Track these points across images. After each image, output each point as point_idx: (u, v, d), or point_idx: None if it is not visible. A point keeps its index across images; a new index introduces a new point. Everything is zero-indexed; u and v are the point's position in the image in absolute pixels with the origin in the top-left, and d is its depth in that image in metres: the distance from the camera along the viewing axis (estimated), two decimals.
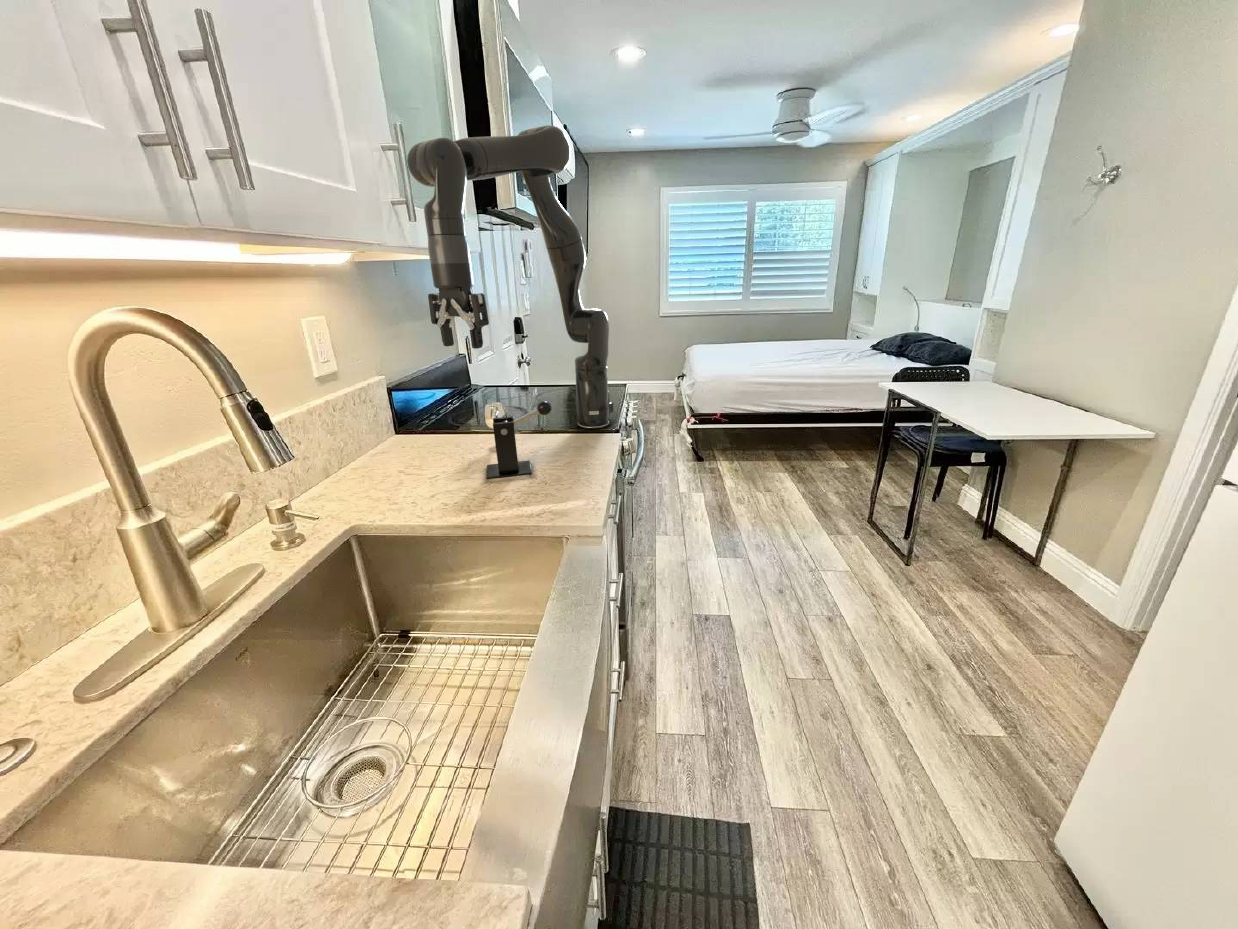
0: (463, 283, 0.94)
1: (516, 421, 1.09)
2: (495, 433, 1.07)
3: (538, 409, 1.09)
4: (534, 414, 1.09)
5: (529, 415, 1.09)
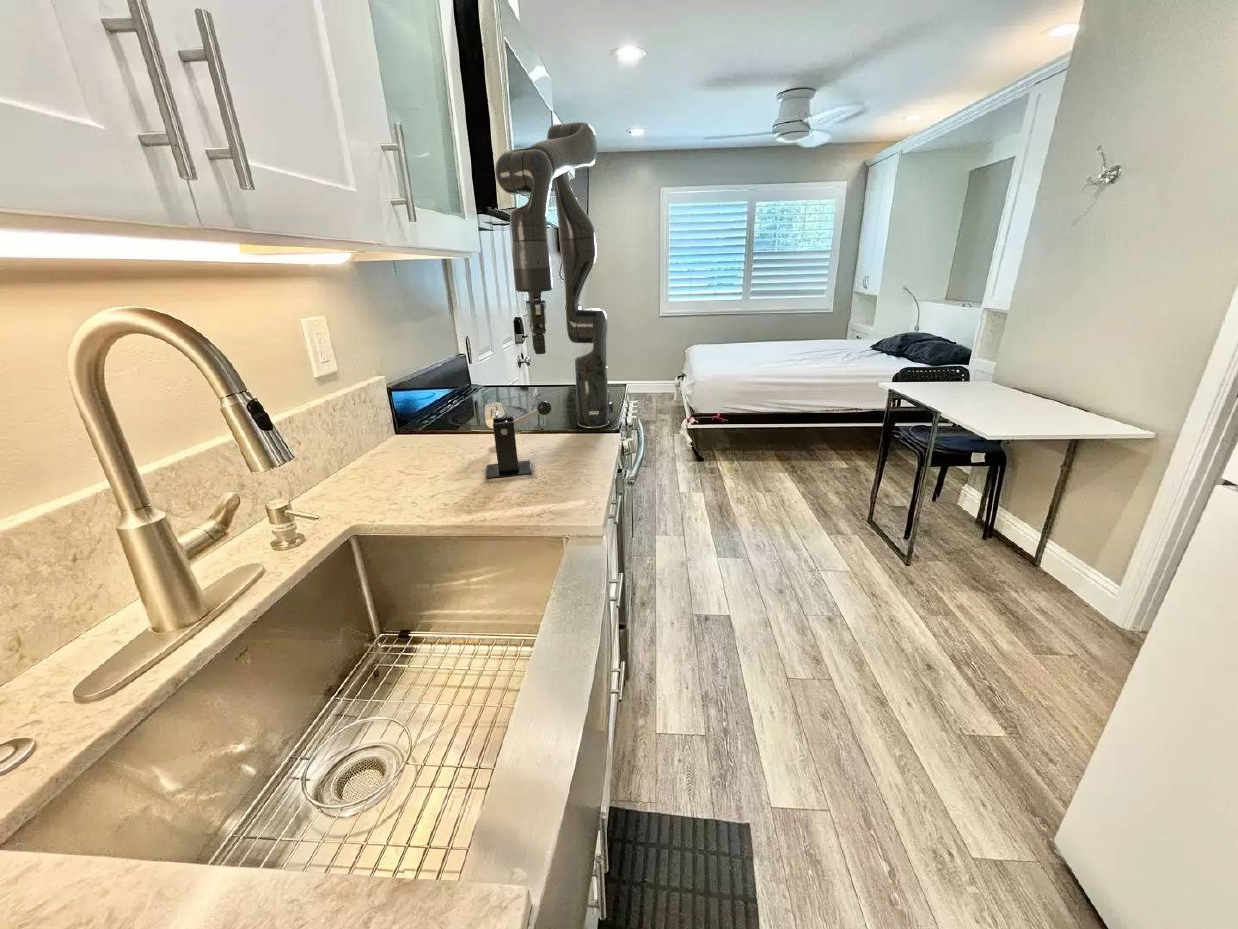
0: (530, 287, 0.97)
1: (516, 421, 1.09)
2: (495, 433, 1.07)
3: (538, 409, 1.09)
4: (534, 414, 1.09)
5: (529, 415, 1.09)
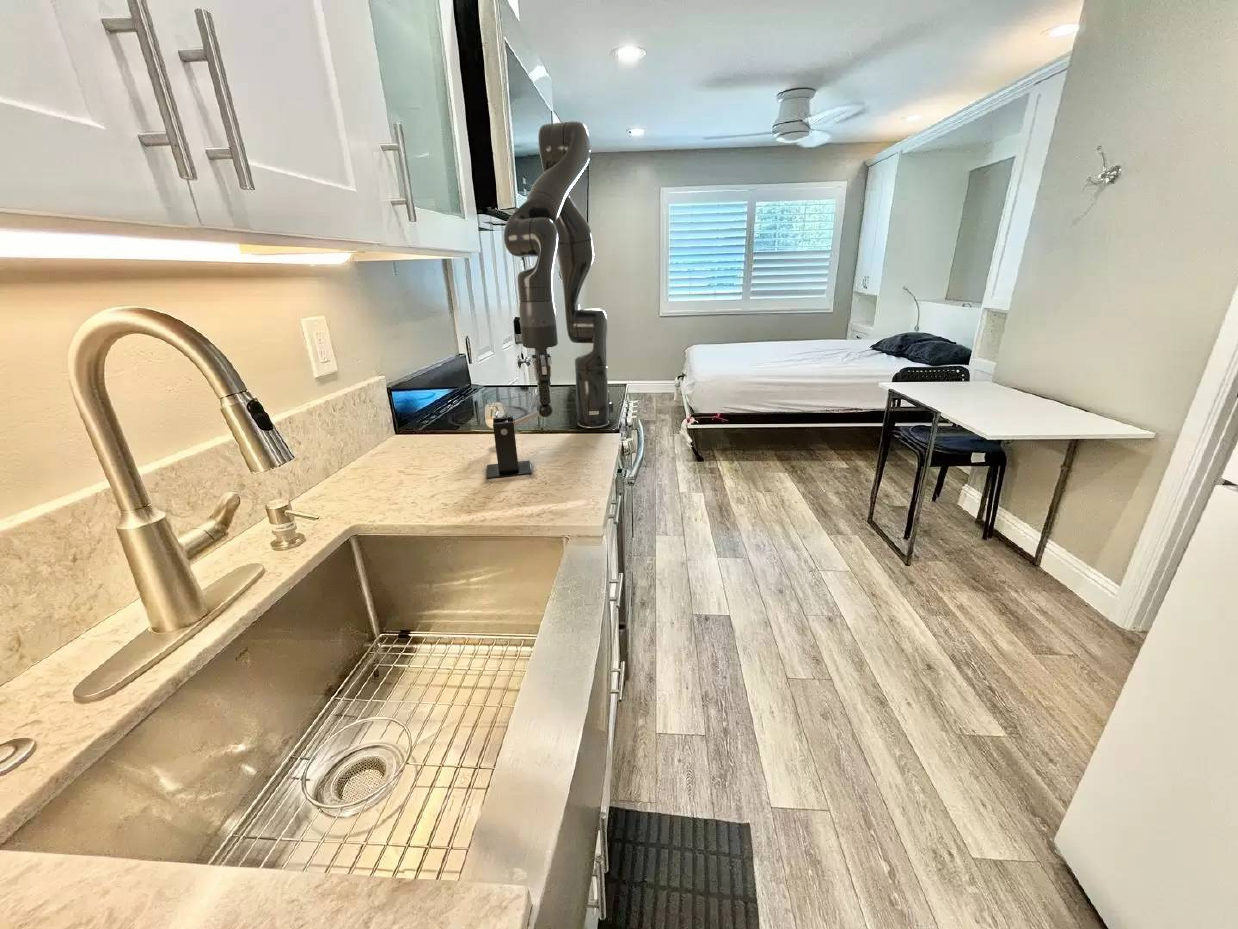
0: (537, 344, 1.01)
1: (516, 422, 1.09)
2: (495, 433, 1.07)
3: (539, 411, 1.09)
4: (535, 416, 1.09)
5: (530, 416, 1.09)
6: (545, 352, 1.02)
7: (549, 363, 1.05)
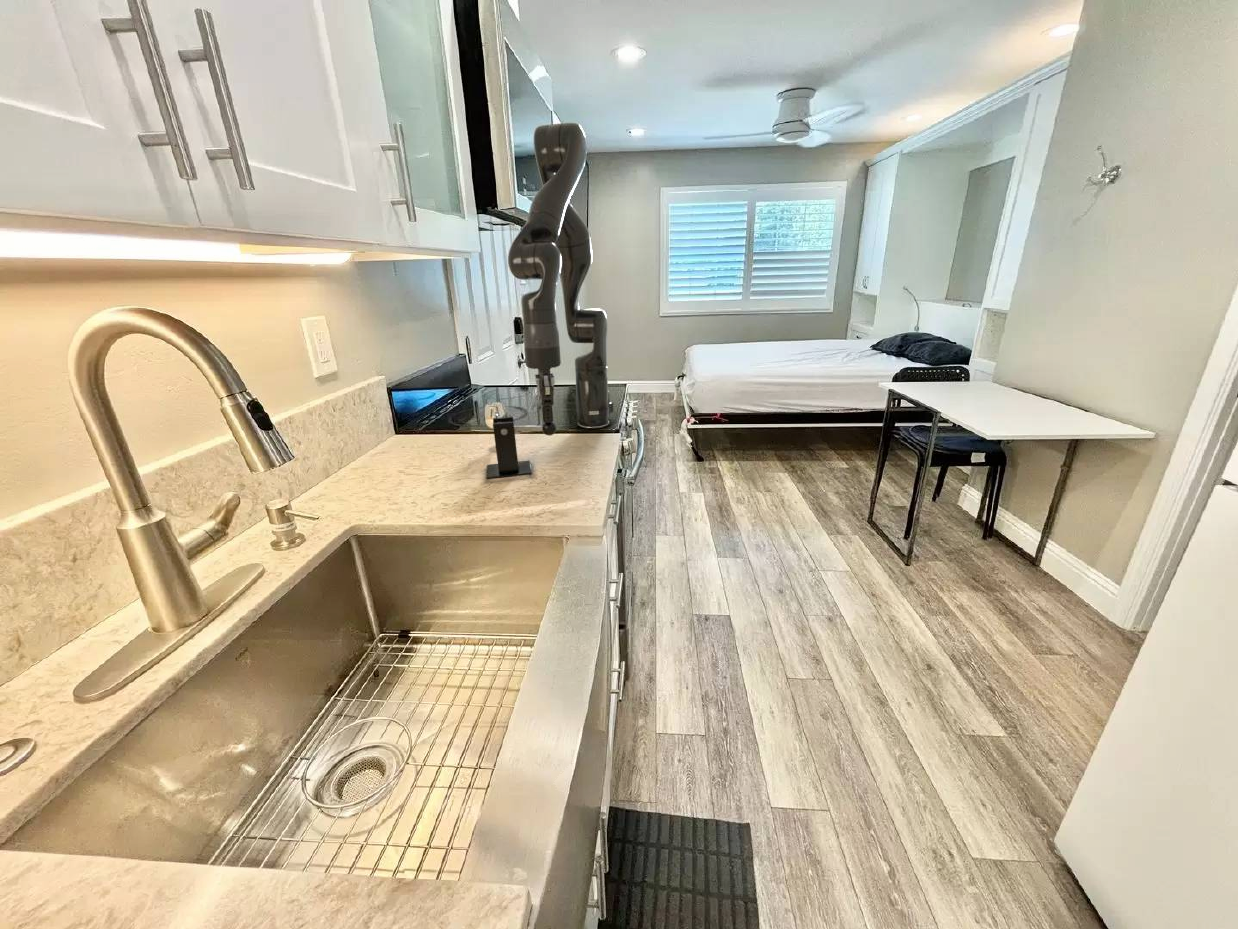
0: (540, 365, 1.03)
1: (518, 427, 1.10)
2: (495, 433, 1.07)
3: (543, 427, 1.11)
4: (537, 429, 1.11)
5: (533, 428, 1.10)
6: (548, 373, 1.03)
7: (552, 383, 1.06)
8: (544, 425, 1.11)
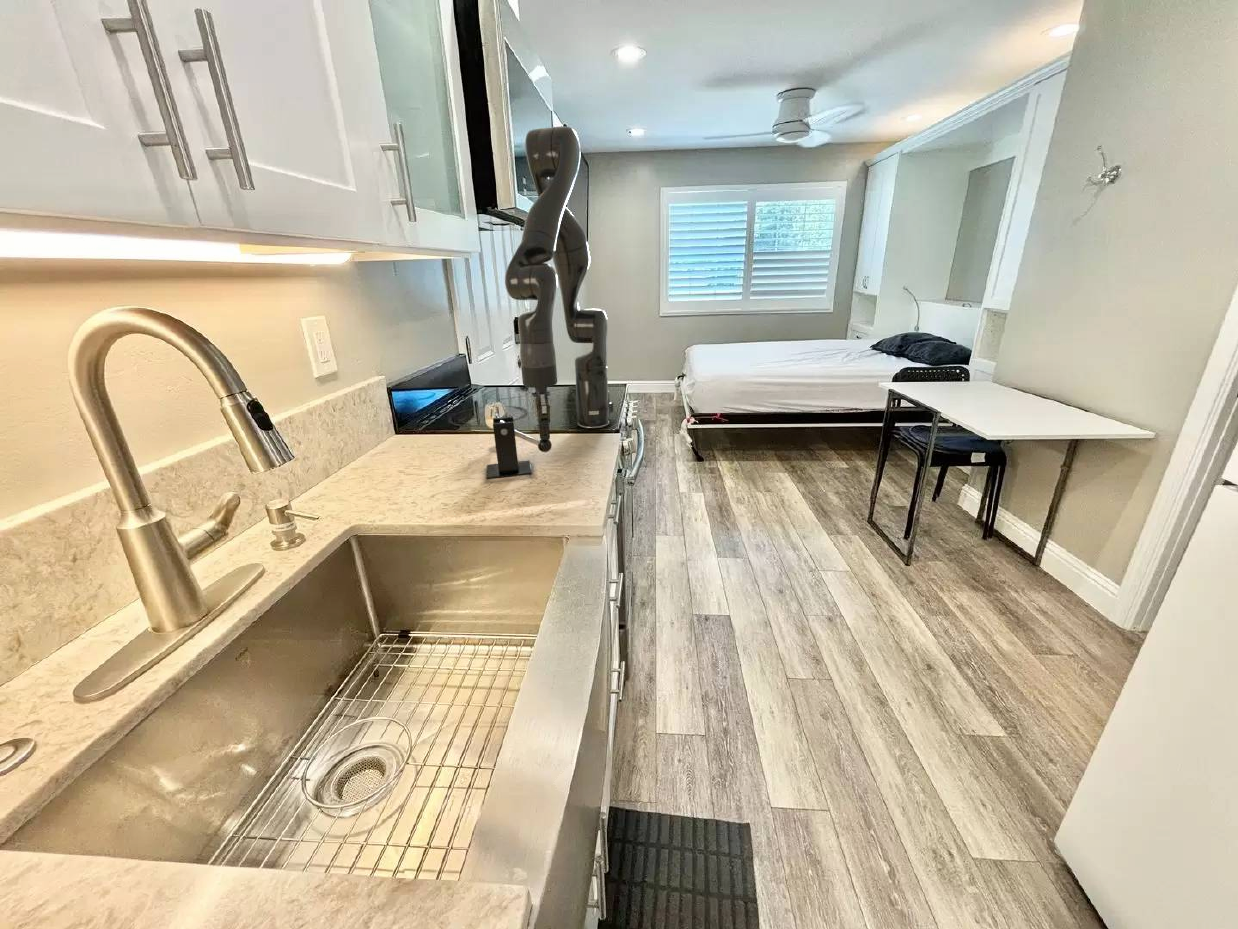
0: (537, 384, 1.04)
1: (517, 433, 1.10)
2: (495, 433, 1.07)
3: (541, 442, 1.12)
4: (534, 442, 1.12)
5: (530, 439, 1.11)
6: (545, 391, 1.05)
7: (549, 401, 1.08)
8: (542, 441, 1.12)
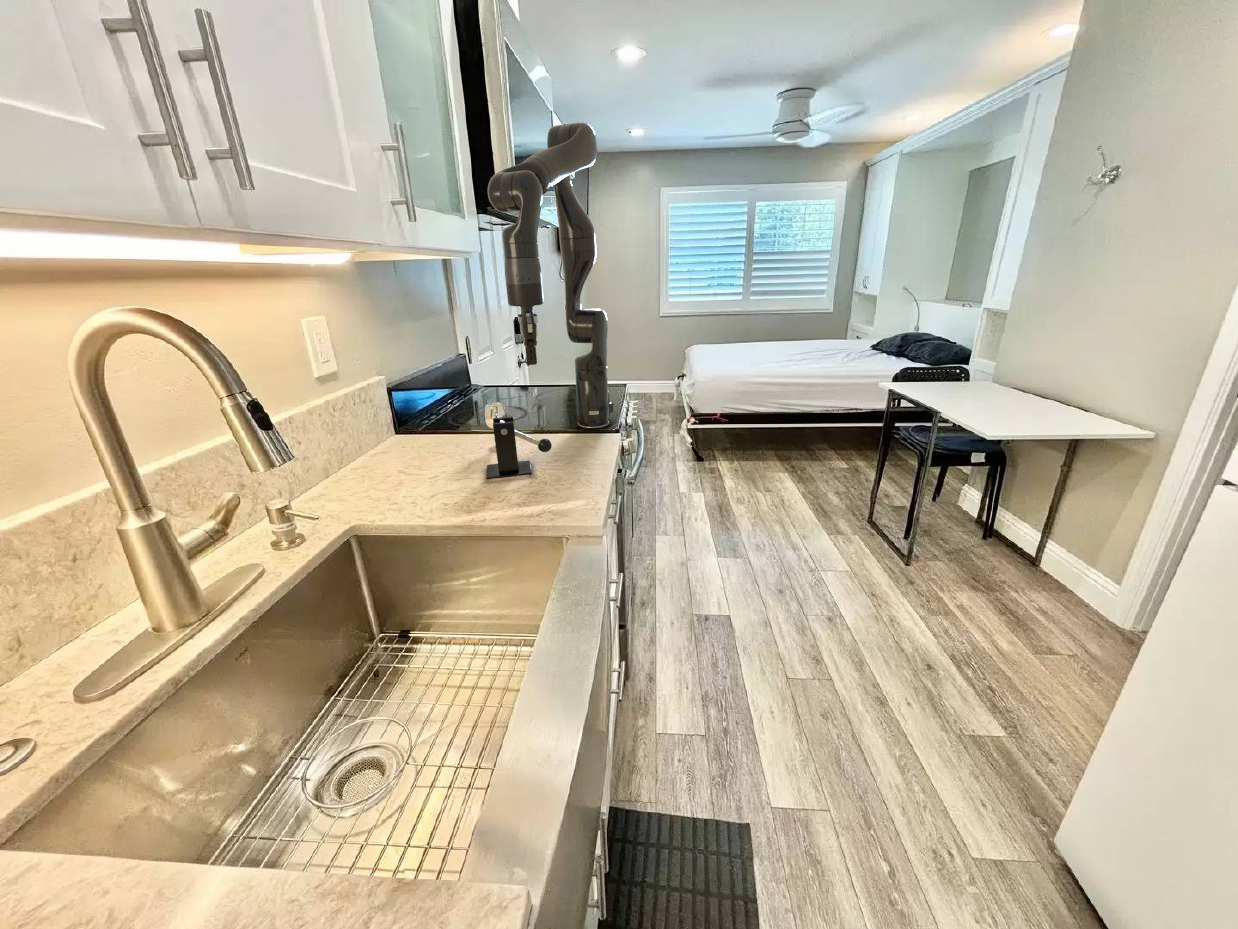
0: (522, 302, 1.01)
1: (517, 433, 1.10)
2: (495, 433, 1.07)
3: (541, 442, 1.12)
4: (534, 442, 1.12)
5: (530, 439, 1.11)
6: (531, 310, 1.02)
7: (535, 322, 1.04)
8: (542, 441, 1.12)
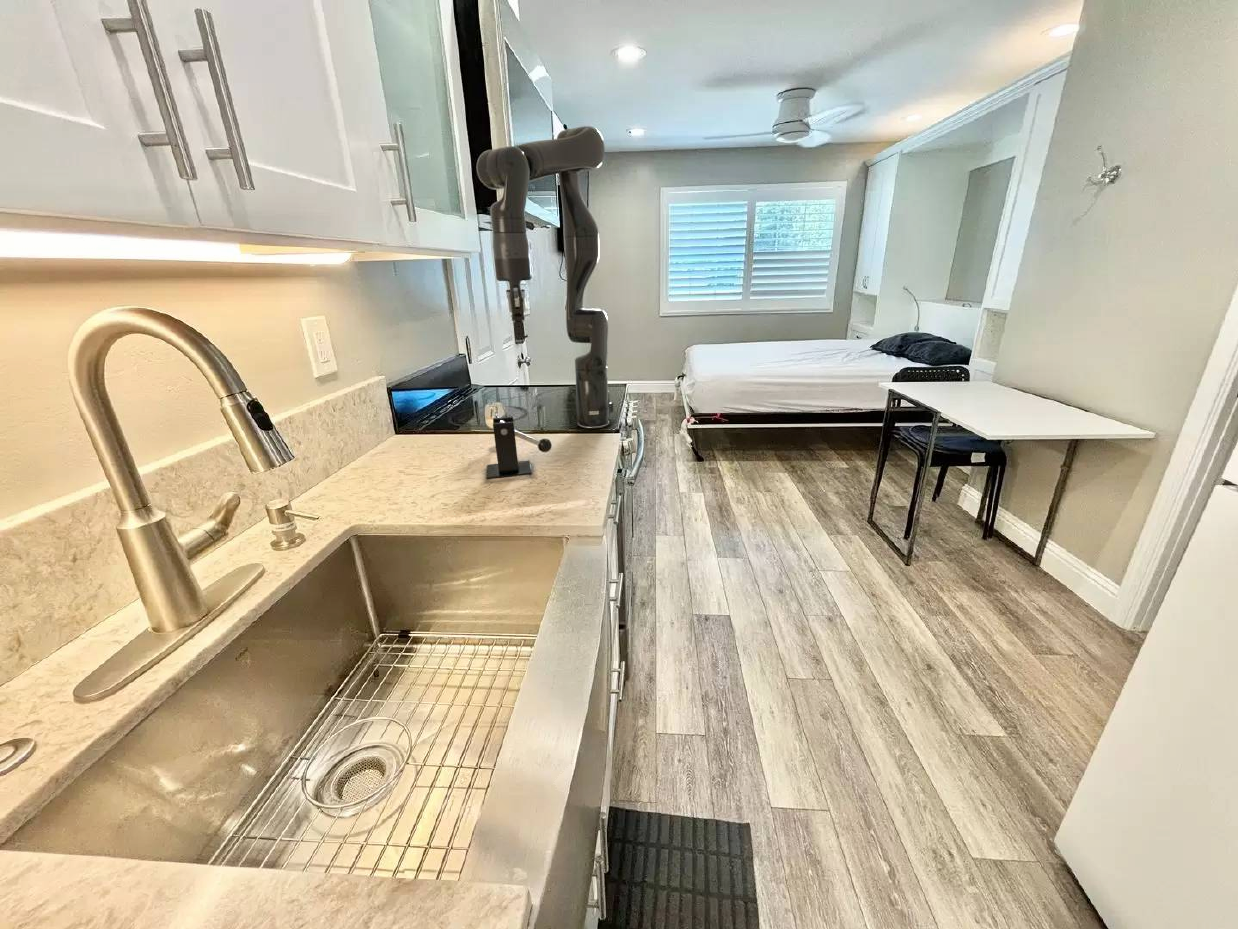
0: (510, 276, 1.03)
1: (517, 433, 1.10)
2: (495, 433, 1.07)
3: (541, 442, 1.12)
4: (534, 442, 1.12)
5: (530, 439, 1.11)
6: (518, 284, 1.04)
7: (523, 297, 1.07)
8: (542, 441, 1.12)
